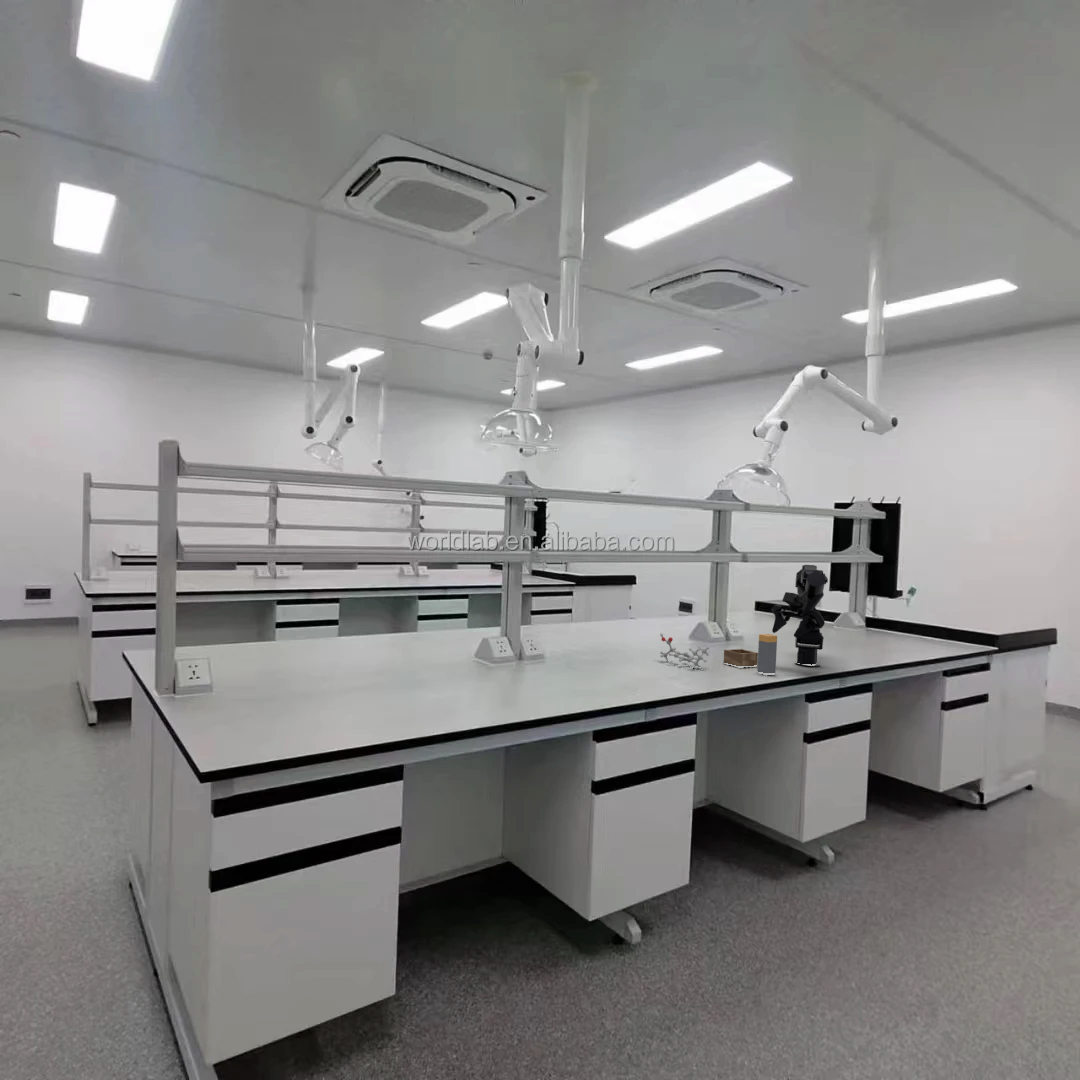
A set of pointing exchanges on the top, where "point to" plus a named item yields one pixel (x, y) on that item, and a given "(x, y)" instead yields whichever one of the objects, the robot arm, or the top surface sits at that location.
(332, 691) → the top surface
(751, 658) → the open wooden box
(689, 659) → the molecular model
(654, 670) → the top surface
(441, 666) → the top surface
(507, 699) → the top surface
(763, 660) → the grey orange tall block
